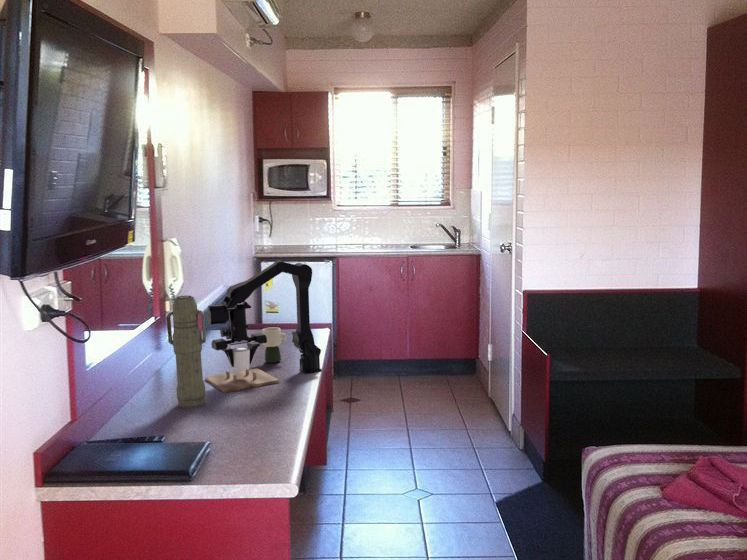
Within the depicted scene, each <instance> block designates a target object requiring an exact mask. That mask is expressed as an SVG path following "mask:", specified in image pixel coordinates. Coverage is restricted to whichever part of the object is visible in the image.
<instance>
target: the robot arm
mask: <svg viewBox="0 0 747 560" xmlns="http://www.w3.org/2000/svg"><path fill="white" fill-rule="evenodd" d="M282 273H284V274H288V275H291V277H292V281H293V284H294V286H295V292H296V293H295V295H296V296H295V298H296V301H295V302H296V324H297V325H296V328H295V329H296V330H295V331H291V334H292V335H291V336H292V340H291V342H292V343H293V345H294V347H295V348H296V349H298V351H299V353H300V358H299V371H300V372H303V373H305V374H312V373H316V372H317V373H318V372H321V371H323V368H321V362H320V361H321V360H320V356H321V353H322V349H320V347H318V346H317V345H316V344H315V339H314V335H313V331H312V329H311V325H310V324H311V321H310V295H309V294H310V293H309V289H310V286H311V283H312V277H313V269H312V267H311V266H310V265H309V264H307V263H301V262H297V263H290V262H286V261H283V260H280V259H279V260H275V261H274V262H273V263H272V264H270V265H268V266H267V267H265V268H264V269H262V270H261V271H259V272H258V273H256V274H255V275H253V276H252V277H250V278H248V279H247V280H244V281H241V282H238V283H235V284H233V285H230V286H229V287H228V288H227V290H226V293H225V297H224V298H223V300H222V302H221V303H220V304H216V305H212V304H211V305H207V311H206V313H207V314H206V320H207V324H208V326H217V325H224V324H227V322H229V324H228V328H227V327H220V328H219V330H220V332H219V333H220V337H221V338H217V339H213V340H212V341H211V348H212V349H213V350H215V351H222V352H224V354H225V355H226V357H227V360H228V362H229V364H230V367H232V368H233V365H234V361H233V349H234V348H231V346H235V345H236V346H237V345H241V344H246V345H247V346H246V347H247V348H250V364H249V365H251V363H252V362H253V359H254V356H255V353H256V351H257V350H258V347H261V345H263V343H267V337H266V335H264V334H262V332H257V333H252V334H250V336H248V328H249V325H248V324H247V312H246V310H247V309H248V310H249V309H252V305H250V304H249V303H248V302H247V300H248V298H250V296H251V295H252V294H253V293H254V292H255V291H256V290H257V289H259V288H260V287H262V286H263V285H265V284H267V283H268V282H269V281H271V280H272V279H274V278H276V277H277V276H279V275H281V274H282ZM224 338H226V339H224Z"/></svg>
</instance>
